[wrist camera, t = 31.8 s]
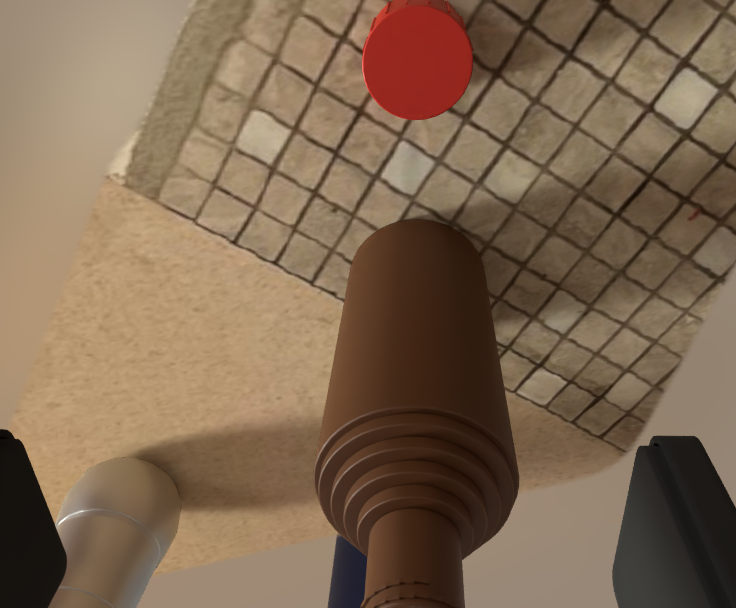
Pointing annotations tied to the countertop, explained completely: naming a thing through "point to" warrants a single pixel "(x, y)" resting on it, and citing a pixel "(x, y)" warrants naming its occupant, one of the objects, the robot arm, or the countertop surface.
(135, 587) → the silver water bottle
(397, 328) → the sauce bottle
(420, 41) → the cap
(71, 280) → the countertop surface
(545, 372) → the countertop surface
